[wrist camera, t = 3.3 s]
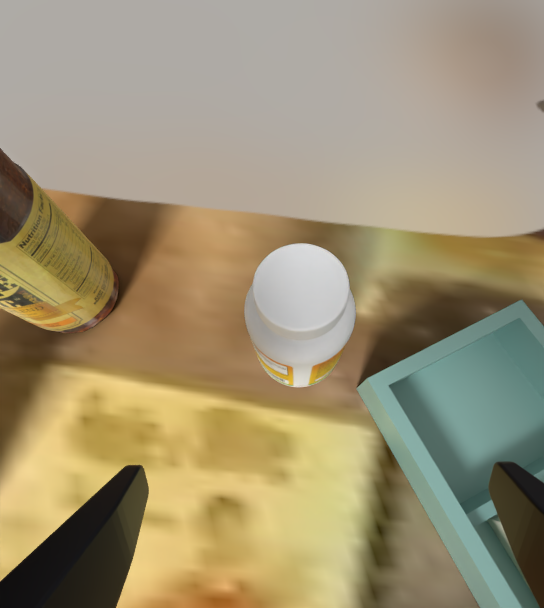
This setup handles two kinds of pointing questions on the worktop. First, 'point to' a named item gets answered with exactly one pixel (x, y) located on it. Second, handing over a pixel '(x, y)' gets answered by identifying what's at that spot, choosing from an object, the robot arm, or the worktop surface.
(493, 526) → the block
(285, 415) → the worktop surface
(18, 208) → the sauce bottle
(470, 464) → the divided tray
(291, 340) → the supplement bottle
